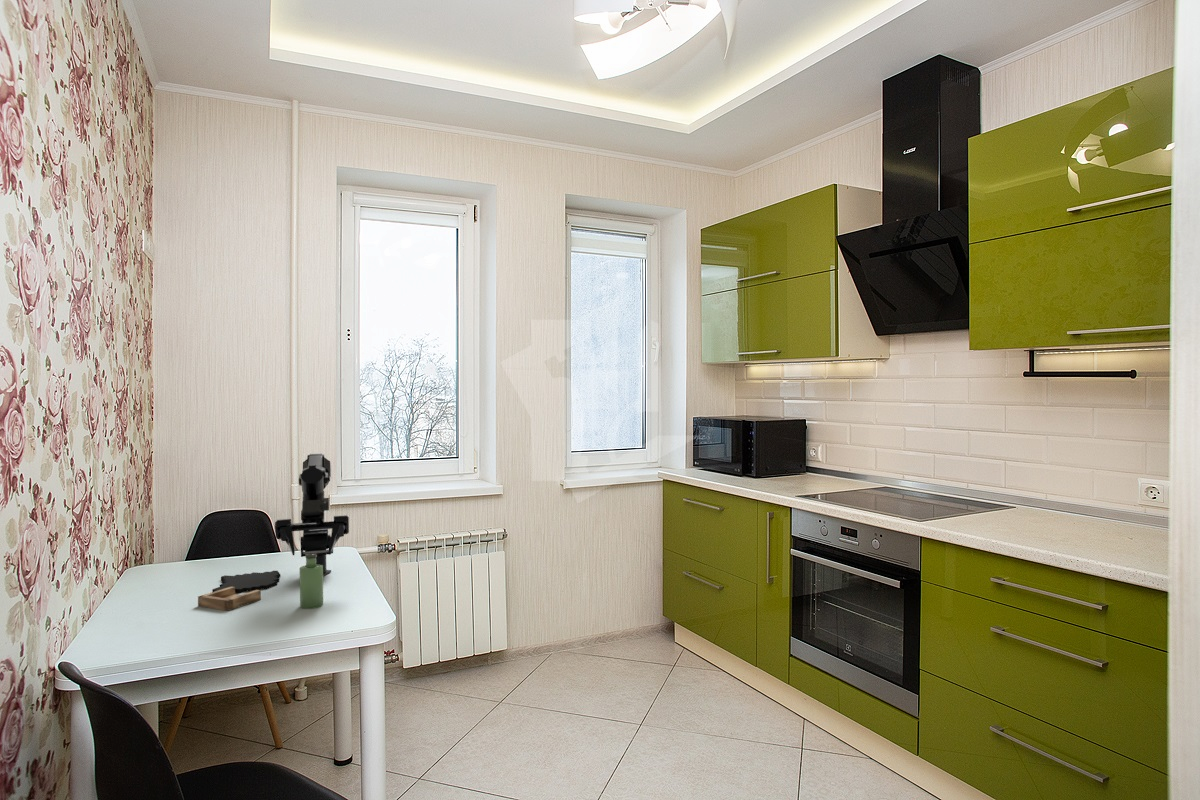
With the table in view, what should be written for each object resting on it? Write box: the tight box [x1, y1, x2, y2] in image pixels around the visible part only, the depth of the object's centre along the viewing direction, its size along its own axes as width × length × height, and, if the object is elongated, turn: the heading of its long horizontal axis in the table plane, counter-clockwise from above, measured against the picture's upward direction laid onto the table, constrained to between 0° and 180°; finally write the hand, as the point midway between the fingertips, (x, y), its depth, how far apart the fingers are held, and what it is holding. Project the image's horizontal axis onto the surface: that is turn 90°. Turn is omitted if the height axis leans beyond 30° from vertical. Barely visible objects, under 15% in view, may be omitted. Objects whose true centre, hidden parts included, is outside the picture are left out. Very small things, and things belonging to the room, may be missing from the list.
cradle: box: [197, 587, 262, 612], centre depth 183 cm, size 10×11×2 cm
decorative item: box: [211, 570, 281, 594], centre depth 202 cm, size 23×2×20 cm
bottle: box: [299, 553, 324, 610], centre depth 180 cm, size 6×6×13 cm
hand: (312, 552), depth 186 cm, fingers open, 9 cm apart
